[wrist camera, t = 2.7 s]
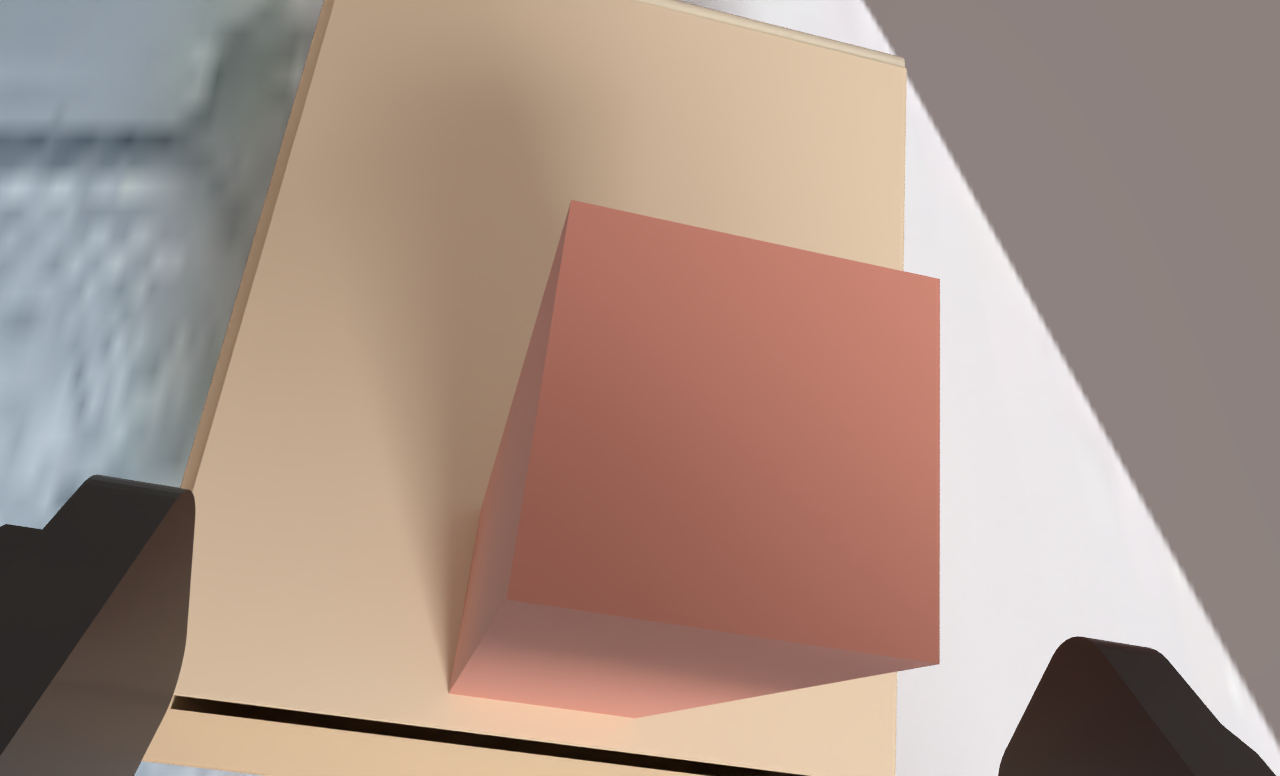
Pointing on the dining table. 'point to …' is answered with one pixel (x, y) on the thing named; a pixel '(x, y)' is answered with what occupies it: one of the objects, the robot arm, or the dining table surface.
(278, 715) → the carton
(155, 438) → the dining table surface
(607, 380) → the flap
